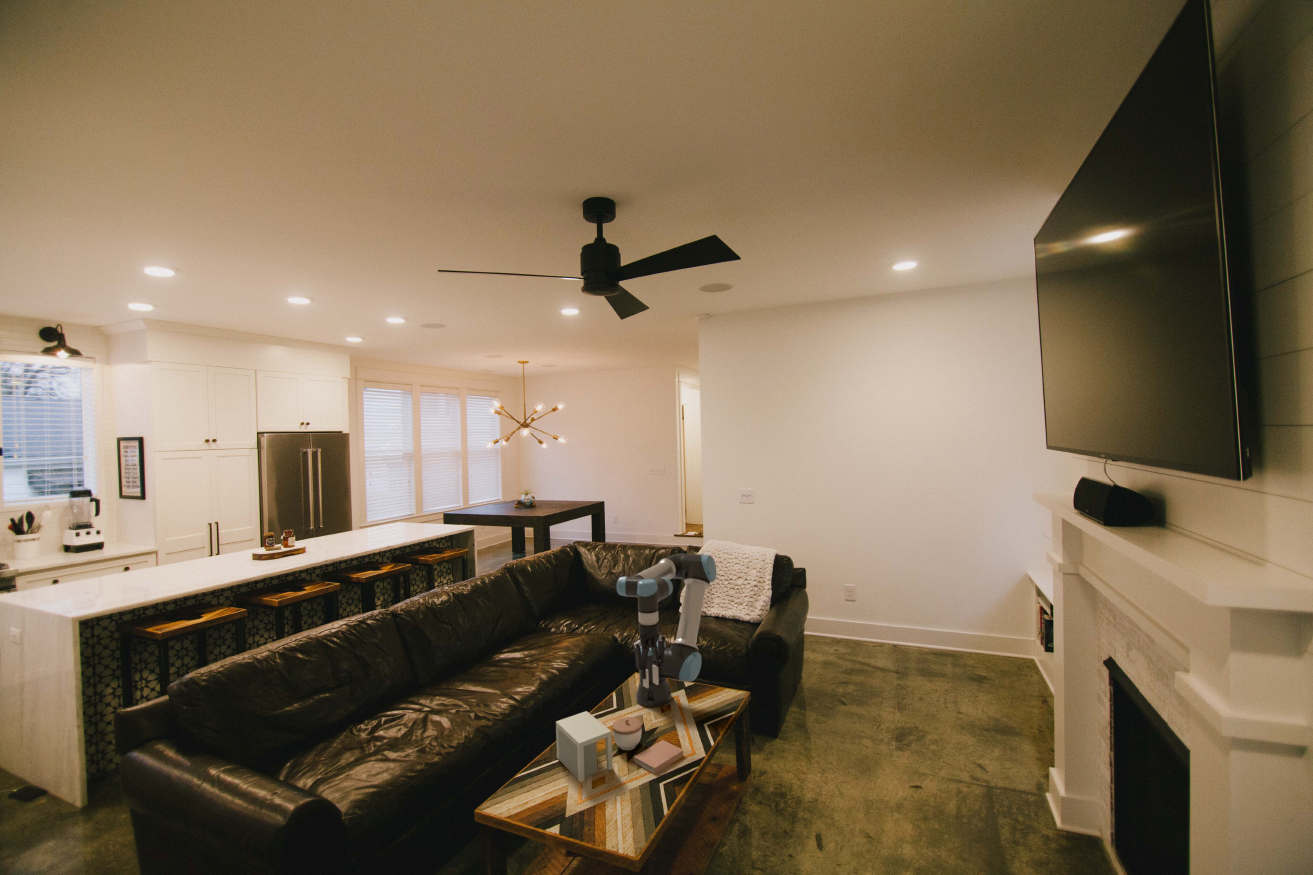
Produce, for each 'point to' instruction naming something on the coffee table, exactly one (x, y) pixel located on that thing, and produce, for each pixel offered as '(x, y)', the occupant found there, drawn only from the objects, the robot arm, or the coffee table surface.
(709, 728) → the coffee table surface
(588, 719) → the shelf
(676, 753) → the book
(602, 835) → the coffee table surface
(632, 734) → the lidded jar
